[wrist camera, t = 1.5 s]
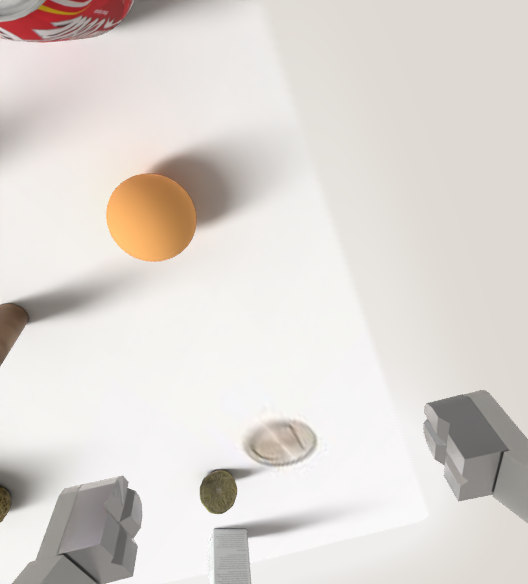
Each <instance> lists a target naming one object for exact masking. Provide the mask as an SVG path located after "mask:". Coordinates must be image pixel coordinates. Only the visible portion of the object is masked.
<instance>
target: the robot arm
mask: <svg viewBox="0 0 528 584" xmlns="http://www.w3.org/2000/svg"><path fill="white" fill-rule="evenodd" d="M424 413H425V415H426V416H427V418H428V419H427V420H426V421H425V422H424V434H425V438H426V442H427V444H428V447H429V449H430V451H431V453H432V455H433V457H434V458H435V460H437V461H439V462H440V463H442V464H443V465H445V469H444V476H445V479H446V480H447V482H448V484H449V485H450V487H451V489H452V491H453V493H454V495H455V496H456V498H457V500H458V501H462V500H468V499H473V498H477V497H482V496H488V495H493V497H494V498H495V499H497V500H498V501H499V502H501V503H502V504H503V505H505V506H506V507H507V508H509V509H510V510H511V511H512V512H514V513H515V514H516V515H518V516H519V517H520V518H522V519H523V520H524V521H526V522H527V523H528V439H527V438H526V437H525V435H524V434H523V433H522V432H521V431H520V430H519V428H518V427H517V426H516V425H515V424H514V422H513V421H512V420H511V419H510V417H509V416H508V415H507V414H506V413H505V412H504V410H503V409H502V408H501V407H500V405H499V404H498V403H497V402H496V401H495V399H494V398H493V397H492V396H491V395H490V393H488V392H487V391H485V390H480V391H476V392H473V393H469V394H465V395H463V394H462V395H458V396H454V397H450V398H446V399H442V400H438V401H434V402H430V403H427V404H426V405H425V409H424ZM127 487H128V481H127V480H126V479H125V477H124V476H119V477H114V478H110V479H105V480H101V481H96V482H92V483H88V484H82V485H78V486H74V487H69V488H65V489H64V490H63V491H62V492H61V494H60V495H59V497H58V500H57V502H56V505H55V508H54V511H53V513H52V516H51V519H50V522H49V525H48V527H47V530H46V533H45V536H44V539H43V541H42V544H41V547H40V550H39V552H38V555H37V558H36V561H32V562H30V563H29V564H28V565H27V566H26V567H25V569H24V570H23V571H22V572H21V573H20V575H19V576H18V577H17V578H16V579H15V581H14V582H13V583H12V584H106V583H109V582H113V581H117V580H121V579H125V578H128V577H132V576H133V572H134V566H135V560H136V554H137V548H138V546H137V544H136V542H135V540H134V539H133V538H134V537H135V535H136V534H137V532H138V531H139V529H140V528H141V521H142V503H141V500H140V498H139V495H138V494H137V493H136V491H134V490H131V489H129V488H127Z"/></svg>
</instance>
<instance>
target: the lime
mask: <svg viewBox="0 0 528 584" xmlns="http://www.w3.org/2000/svg"><path fill="white" fill-rule="evenodd" d="M236 495H237V486H236V483H235V480H234V478H233V477H232V476H231V475H230V474H229V473H228V472H227V471H224V470H217V471H214V472H212V473H210V474H209V475H208V476H206V477H205V478H204V479H203V481H202V484H201V486H200V499H201V502H202V504H203V505H204V506H205V507H206V509H207V510H208V511H209V512H211V513H214V514H222V513H224V512H226V511H227V510H229V509H230V508H231V507H232V506H233V504H234V502H235V499H236Z"/></svg>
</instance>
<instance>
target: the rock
mask: <svg viewBox="0 0 528 584" xmlns="http://www.w3.org/2000/svg"><path fill="white" fill-rule="evenodd" d="M10 506H11V498H10V495H9V493H8V491H7V490H6V489H5V488H3V487H1V486H0V522H2V521H3V519H4V517H5V516H6V515H7V513H8V512H9V509H10Z"/></svg>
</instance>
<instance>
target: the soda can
mask: <svg viewBox="0 0 528 584" xmlns="http://www.w3.org/2000/svg"><path fill="white" fill-rule="evenodd" d="M133 3H134V0H0V38H3V39H7V40H12V41H27V42H56V41H67V40H76V39H84V38H91V37H96V36H99V35H102V34H104V33H106V32H108V31H110V30H111V29H113V28H114V27H115V26H117V25H118V24H119V23H120V22H121V21H122V20H123V19H124V18H125V17H126V15H127V14H128V13H129V11H130V9H131V7H132V5H133Z"/></svg>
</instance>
